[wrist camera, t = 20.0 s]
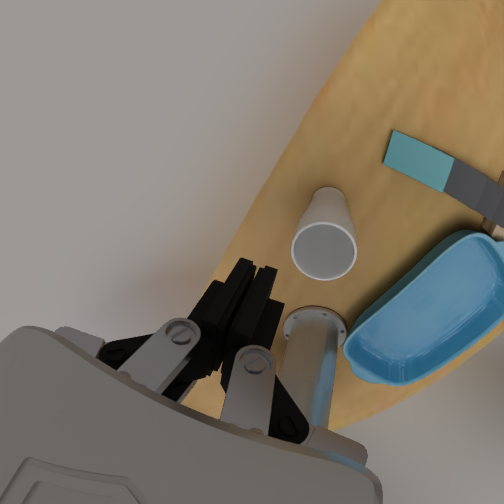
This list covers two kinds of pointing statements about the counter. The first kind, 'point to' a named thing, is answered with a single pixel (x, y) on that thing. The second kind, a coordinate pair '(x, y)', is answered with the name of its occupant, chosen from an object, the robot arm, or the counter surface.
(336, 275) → the drinking glass
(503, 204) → the domino
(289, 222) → the counter surface
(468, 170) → the domino
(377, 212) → the counter surface
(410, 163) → the domino teal
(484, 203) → the domino
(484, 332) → the casserole dish
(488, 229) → the oak block
